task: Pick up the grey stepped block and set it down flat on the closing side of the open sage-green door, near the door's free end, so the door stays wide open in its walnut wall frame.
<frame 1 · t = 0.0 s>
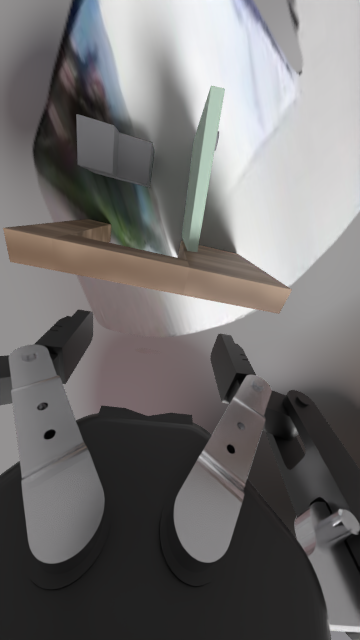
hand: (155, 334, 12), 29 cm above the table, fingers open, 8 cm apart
grey stepped block: (123, 161, 31), on the table
wall frame: (145, 241, 37), on the table
door: (199, 190, 26), point 8 cm above the table, hinge at 85.0°
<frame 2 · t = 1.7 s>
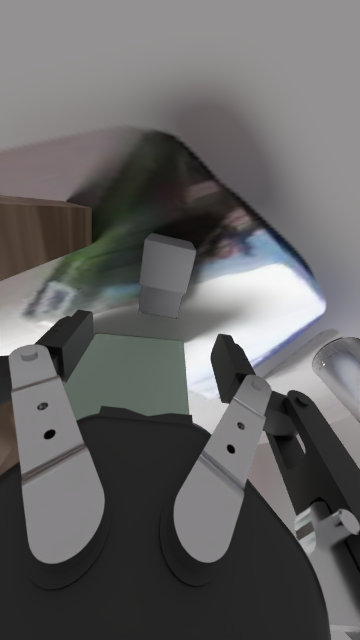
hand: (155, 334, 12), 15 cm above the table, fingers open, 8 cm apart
grey stepped block: (165, 272, 26), on the table
wall frame: (80, 290, 27), on the table
door: (131, 378, 24), point 8 cm above the table, hinge at 85.0°
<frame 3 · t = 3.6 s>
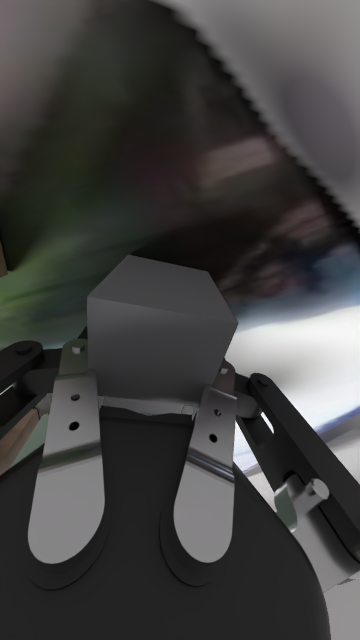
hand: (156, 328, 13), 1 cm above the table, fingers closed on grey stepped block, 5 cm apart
grey stepped block: (157, 324, 14), on the table, touching gripper
wall frame: (3, 352, 15), on the table
door: (91, 538, 12), point 8 cm above the table, hinge at 85.0°
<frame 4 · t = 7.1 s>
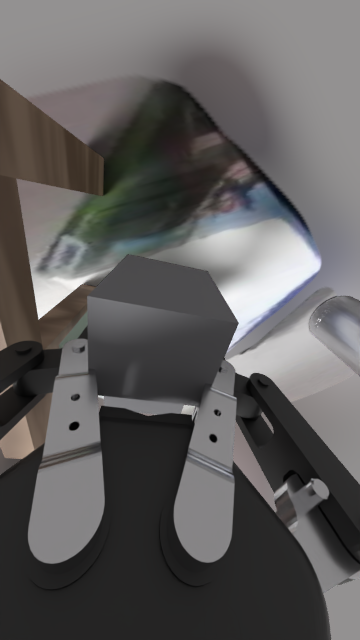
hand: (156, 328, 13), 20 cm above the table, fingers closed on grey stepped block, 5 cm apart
grey stepped block: (157, 324, 14), point 19 cm above the table, touching gripper
wall frame: (91, 244, 29), on the table
door: (140, 322, 26), point 8 cm above the table, hinge at 85.0°
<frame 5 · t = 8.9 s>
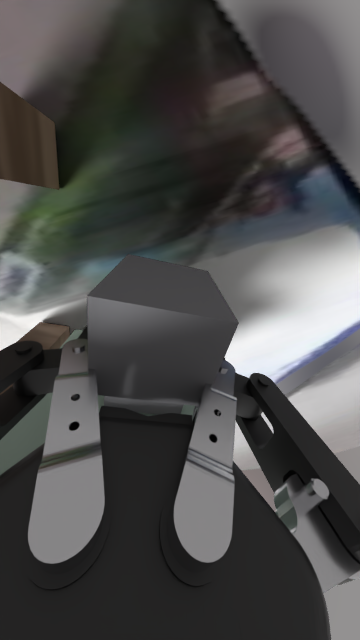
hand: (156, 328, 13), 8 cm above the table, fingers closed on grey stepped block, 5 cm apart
grey stepped block: (157, 324, 14), point 7 cm above the table, touching gripper
wall frame: (48, 266, 18), on the table
door: (122, 397, 16), point 8 cm above the table, hinge at 85.0°
when the fingers open (2 cm above the table, at t = 10.6 s): grey stepped block stays where it is, on the table.
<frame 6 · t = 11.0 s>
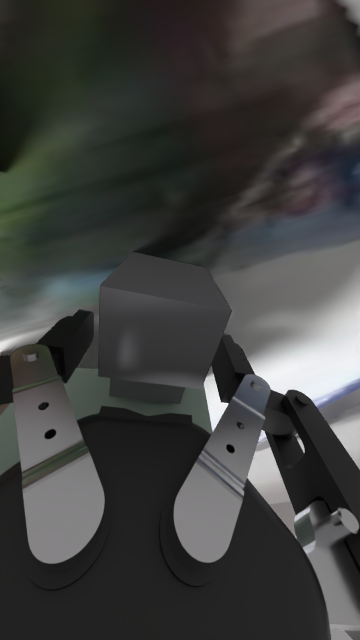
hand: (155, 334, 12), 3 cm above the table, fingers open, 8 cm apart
grey stepped block: (159, 317, 15), on the table
door: (97, 484, 11), point 8 cm above the table, hinge at 85.0°
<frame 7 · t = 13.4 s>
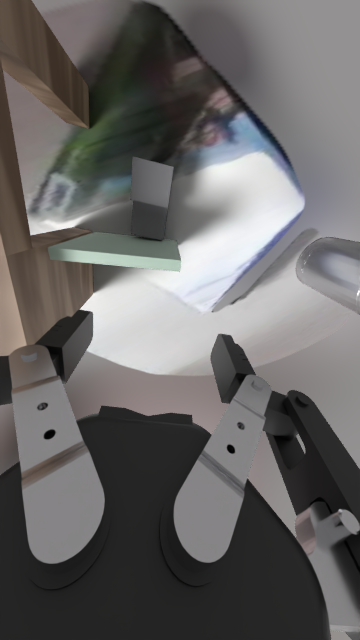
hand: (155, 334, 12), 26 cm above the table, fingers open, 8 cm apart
grey stepped block: (152, 204, 31), on the table
wall frame: (80, 182, 29), on the table
door: (129, 252, 27), point 8 cm above the table, hinge at 85.0°
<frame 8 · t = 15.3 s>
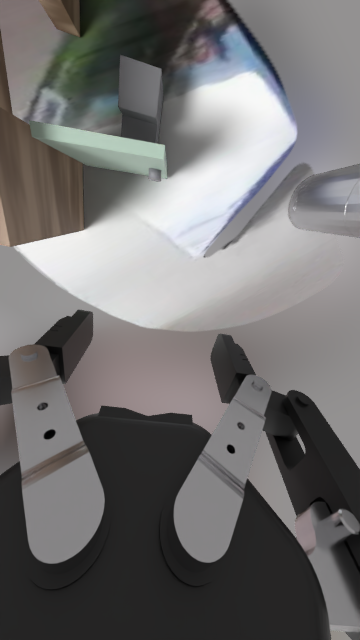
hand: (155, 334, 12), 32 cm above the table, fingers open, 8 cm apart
grey stepped block: (143, 130, 31), on the table
wall frame: (71, 100, 29), on the table
door: (117, 163, 27), point 8 cm above the table, hinge at 85.0°
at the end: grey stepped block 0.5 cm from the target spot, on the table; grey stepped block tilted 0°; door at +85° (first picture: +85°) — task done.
